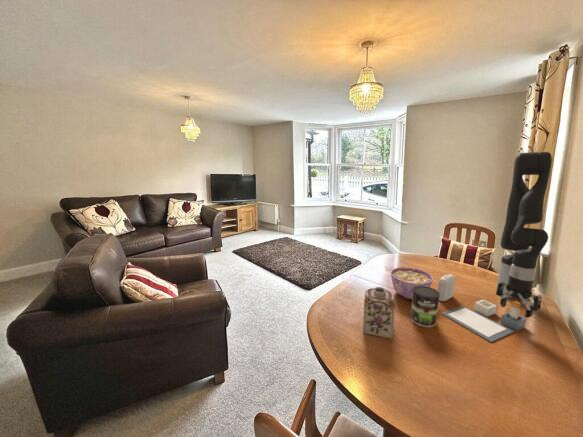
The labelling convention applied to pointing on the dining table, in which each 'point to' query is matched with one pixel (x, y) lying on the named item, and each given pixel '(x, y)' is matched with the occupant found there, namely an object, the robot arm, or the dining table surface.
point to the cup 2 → (513, 322)
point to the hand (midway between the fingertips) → (514, 311)
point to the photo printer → (446, 287)
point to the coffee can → (424, 306)
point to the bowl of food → (409, 280)
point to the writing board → (478, 323)
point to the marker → (514, 310)
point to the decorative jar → (379, 312)
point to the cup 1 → (485, 307)
